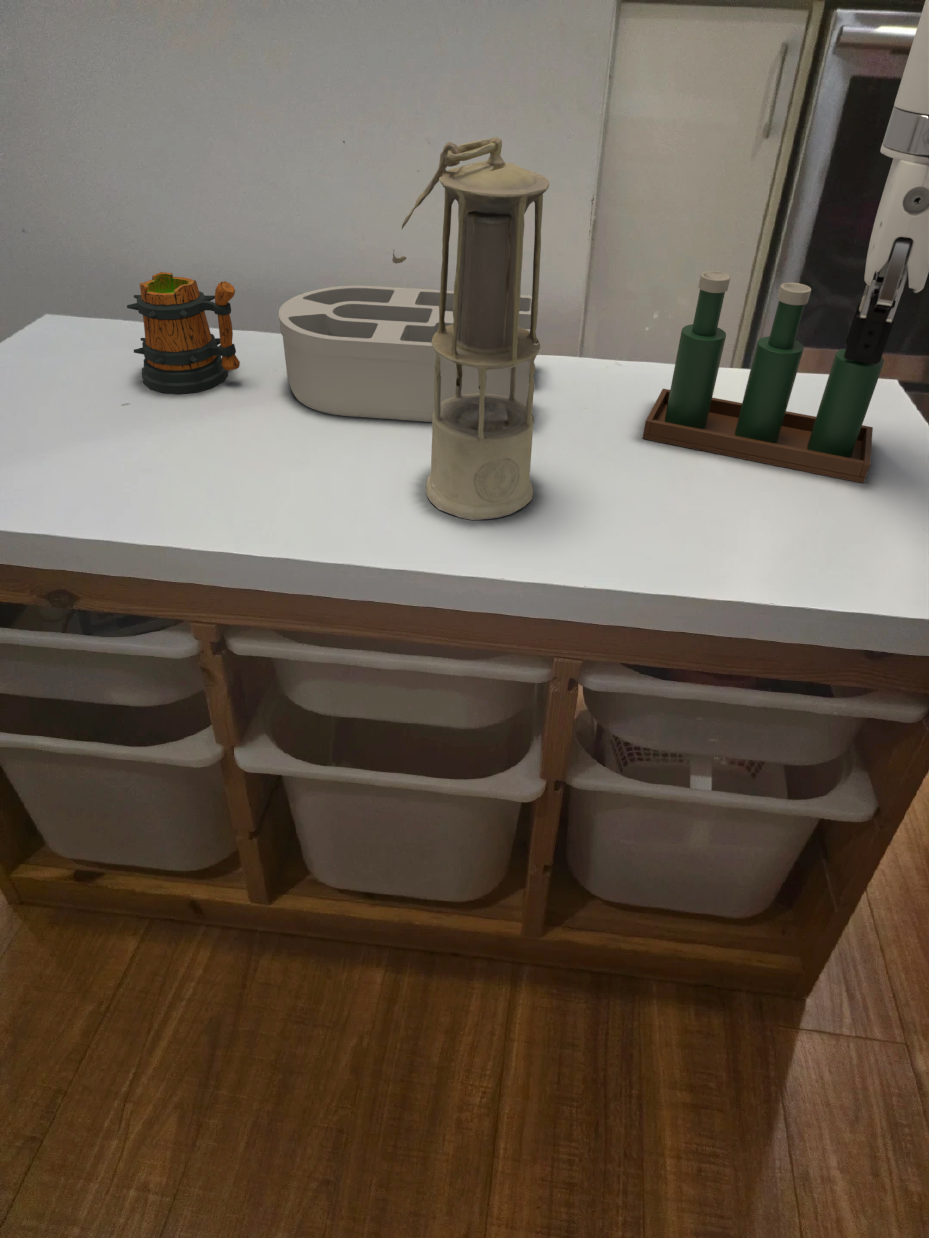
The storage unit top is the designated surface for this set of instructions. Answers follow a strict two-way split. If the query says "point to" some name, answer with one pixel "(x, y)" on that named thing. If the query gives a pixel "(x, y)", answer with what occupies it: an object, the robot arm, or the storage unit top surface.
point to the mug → (184, 335)
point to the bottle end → (699, 356)
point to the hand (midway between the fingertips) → (862, 352)
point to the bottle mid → (774, 369)
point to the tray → (782, 453)
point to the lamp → (484, 334)
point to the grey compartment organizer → (379, 352)
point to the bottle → (844, 404)
